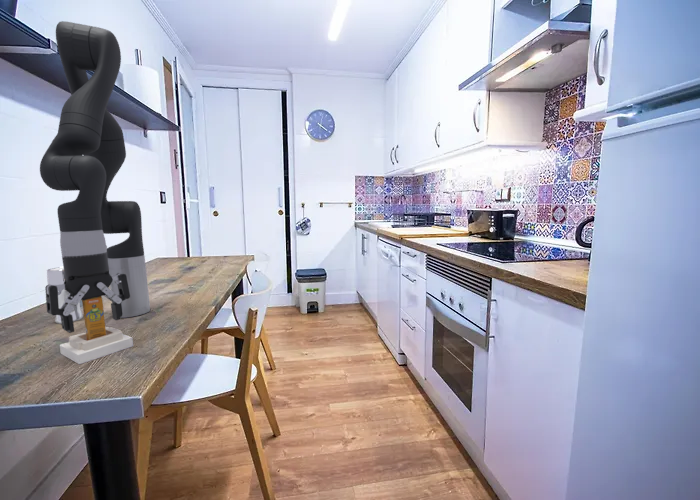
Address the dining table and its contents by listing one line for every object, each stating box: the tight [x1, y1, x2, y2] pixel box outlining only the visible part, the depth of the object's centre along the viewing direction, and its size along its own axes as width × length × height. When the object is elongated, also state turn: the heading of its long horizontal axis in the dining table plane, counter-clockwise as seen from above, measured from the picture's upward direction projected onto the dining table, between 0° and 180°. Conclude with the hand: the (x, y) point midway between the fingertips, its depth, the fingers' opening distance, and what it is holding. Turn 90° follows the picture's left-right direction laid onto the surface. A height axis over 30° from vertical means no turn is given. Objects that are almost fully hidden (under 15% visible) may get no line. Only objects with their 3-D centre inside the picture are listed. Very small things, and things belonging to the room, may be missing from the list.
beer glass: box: [46, 266, 84, 325], centre depth 93 cm, size 7×7×15 cm
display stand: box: [59, 326, 134, 365], centre depth 73 cm, size 10×10×4 cm
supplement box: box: [81, 296, 106, 341], centre depth 72 cm, size 3×3×10 cm
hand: (94, 325), depth 72 cm, fingers open, 8 cm apart
